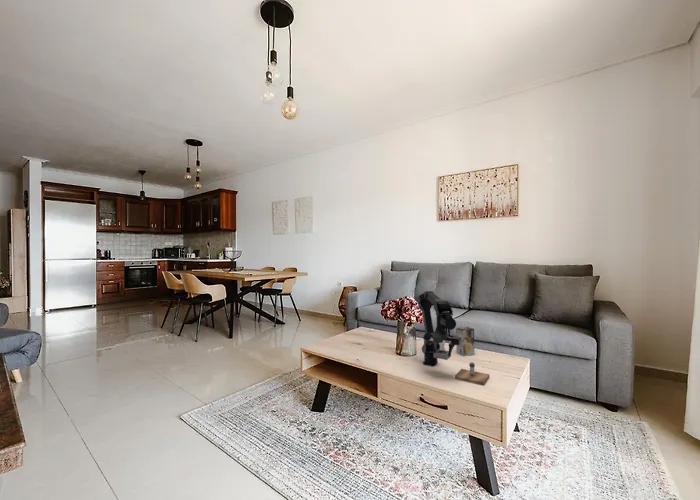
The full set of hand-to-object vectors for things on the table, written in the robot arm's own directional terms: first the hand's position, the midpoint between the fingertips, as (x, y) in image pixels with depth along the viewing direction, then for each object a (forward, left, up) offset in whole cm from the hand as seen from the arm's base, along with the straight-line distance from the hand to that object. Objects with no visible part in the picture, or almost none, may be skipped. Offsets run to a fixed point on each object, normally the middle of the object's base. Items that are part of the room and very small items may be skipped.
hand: (442, 354), depth 166 cm
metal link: (0, 0, -1) cm, 1 cm away
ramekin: (-18, +38, -11) cm, 43 cm away
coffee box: (+1, +40, -11) cm, 41 cm away
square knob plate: (+14, +4, -10) cm, 18 cm away
